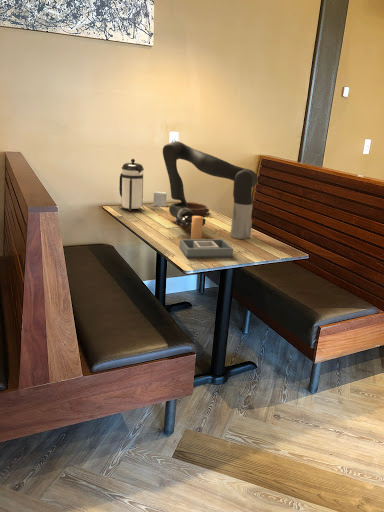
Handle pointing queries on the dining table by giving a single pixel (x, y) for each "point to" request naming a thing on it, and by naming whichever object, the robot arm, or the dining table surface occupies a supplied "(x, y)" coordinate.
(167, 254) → the dining table surface
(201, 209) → the dish
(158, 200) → the medicine box
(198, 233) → the rounded orange object
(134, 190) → the coffee press
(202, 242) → the walled box
